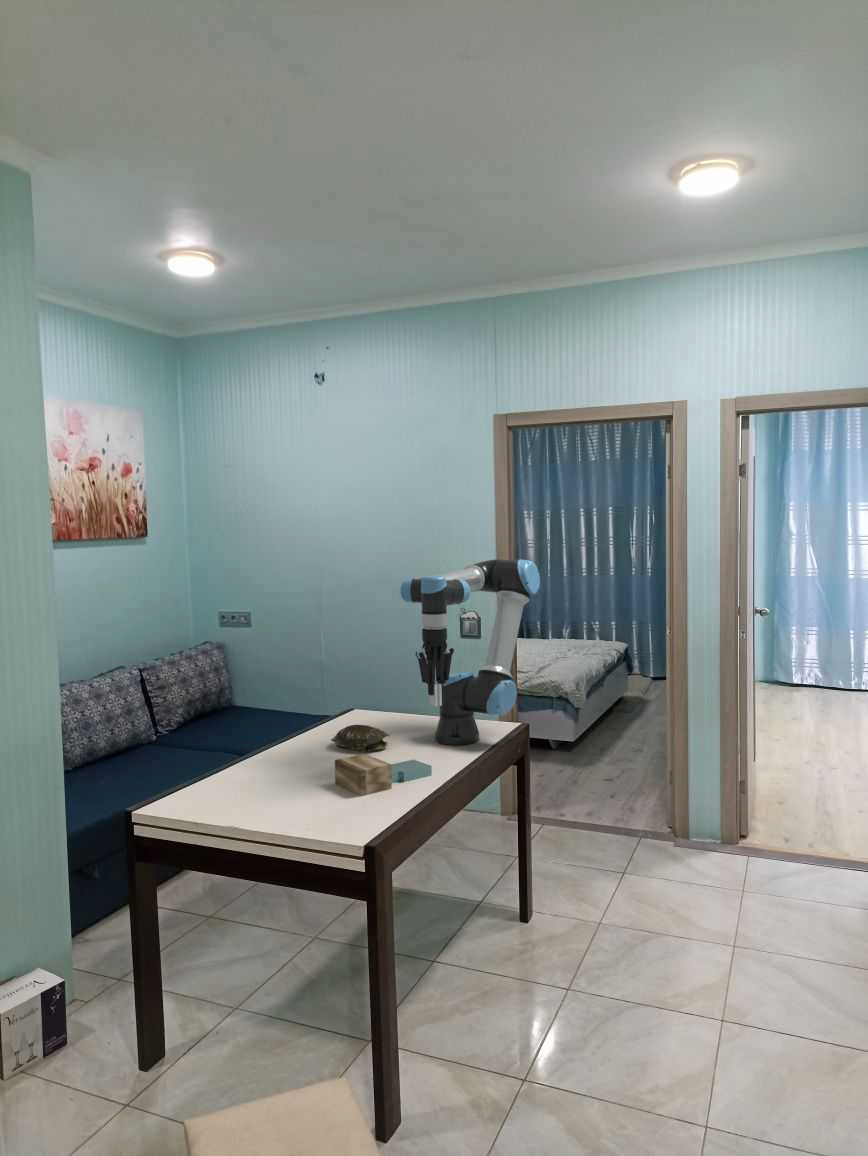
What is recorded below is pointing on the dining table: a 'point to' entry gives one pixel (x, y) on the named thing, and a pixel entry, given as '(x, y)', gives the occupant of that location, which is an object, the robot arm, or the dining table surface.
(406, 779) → the teal tabbed plate
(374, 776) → the overhang
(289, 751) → the dining table surface
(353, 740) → the turtle shell
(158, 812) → the dining table surface
